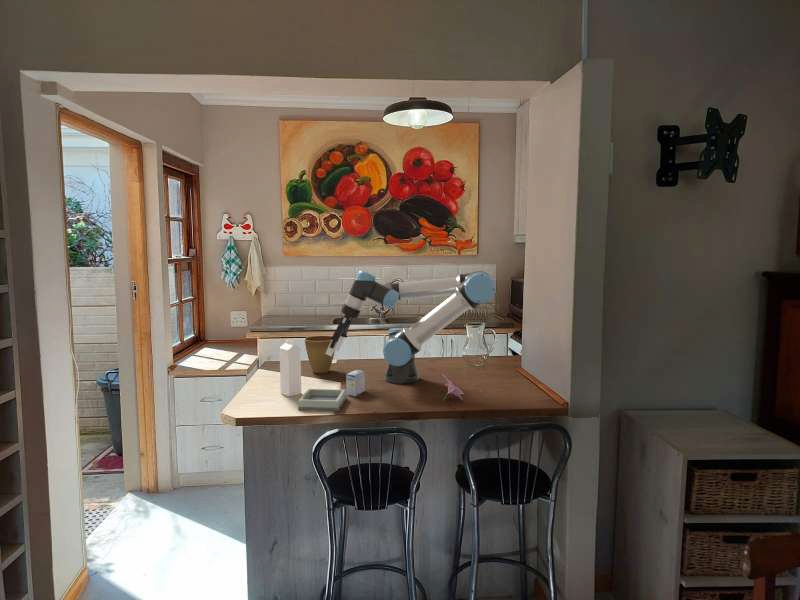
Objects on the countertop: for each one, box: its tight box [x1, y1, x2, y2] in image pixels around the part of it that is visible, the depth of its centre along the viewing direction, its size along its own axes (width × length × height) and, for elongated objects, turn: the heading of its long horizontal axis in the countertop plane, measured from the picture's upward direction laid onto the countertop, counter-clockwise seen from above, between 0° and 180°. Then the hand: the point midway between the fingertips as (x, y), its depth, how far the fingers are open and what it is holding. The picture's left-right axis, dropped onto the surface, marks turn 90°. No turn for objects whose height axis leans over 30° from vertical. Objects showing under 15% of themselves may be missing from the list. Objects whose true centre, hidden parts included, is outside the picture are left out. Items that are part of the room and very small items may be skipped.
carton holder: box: [297, 388, 347, 412], centre depth 193 cm, size 15×15×4 cm
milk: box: [279, 338, 302, 397], centre depth 205 cm, size 6×6×22 cm
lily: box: [441, 374, 465, 401], centre depth 197 cm, size 12×12×10 cm
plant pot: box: [304, 335, 336, 374], centre depth 239 cm, size 15×15×16 cm
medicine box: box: [345, 369, 366, 397], centre depth 206 cm, size 8×4×9 cm, turn 155°
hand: (331, 352), depth 213 cm, fingers open, 13 cm apart
